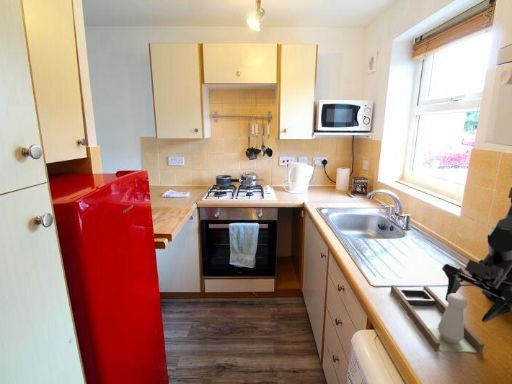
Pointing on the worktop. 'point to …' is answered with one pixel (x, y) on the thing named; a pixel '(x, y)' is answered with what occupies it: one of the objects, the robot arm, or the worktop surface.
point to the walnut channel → (433, 333)
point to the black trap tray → (417, 297)
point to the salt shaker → (453, 319)
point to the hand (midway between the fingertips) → (463, 310)
